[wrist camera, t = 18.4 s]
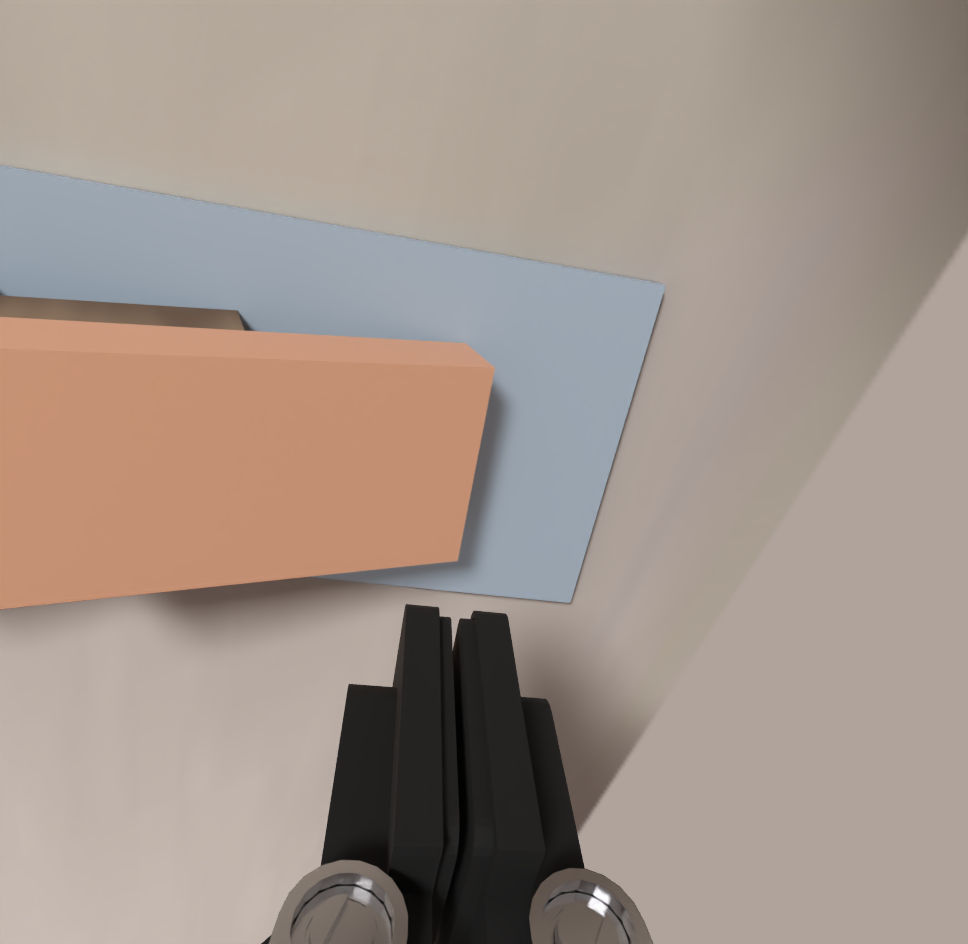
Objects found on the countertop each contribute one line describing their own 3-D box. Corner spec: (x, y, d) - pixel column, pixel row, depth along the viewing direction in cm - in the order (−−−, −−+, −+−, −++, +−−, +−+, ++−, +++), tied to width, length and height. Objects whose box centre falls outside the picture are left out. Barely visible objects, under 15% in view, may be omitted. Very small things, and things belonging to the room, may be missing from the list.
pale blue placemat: (-398, 93, 14) (-419, 92, 14) (660, 283, 18) (665, 286, 17) (-239, 514, 19) (-251, 521, 19) (568, 595, 23) (570, 603, 22)
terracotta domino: (495, 367, 16) (-126, 343, 11) (457, 560, 19) (-58, 615, 14) (465, 343, 18) (-90, 311, 13) (435, 524, 20) (-35, 560, 15)
